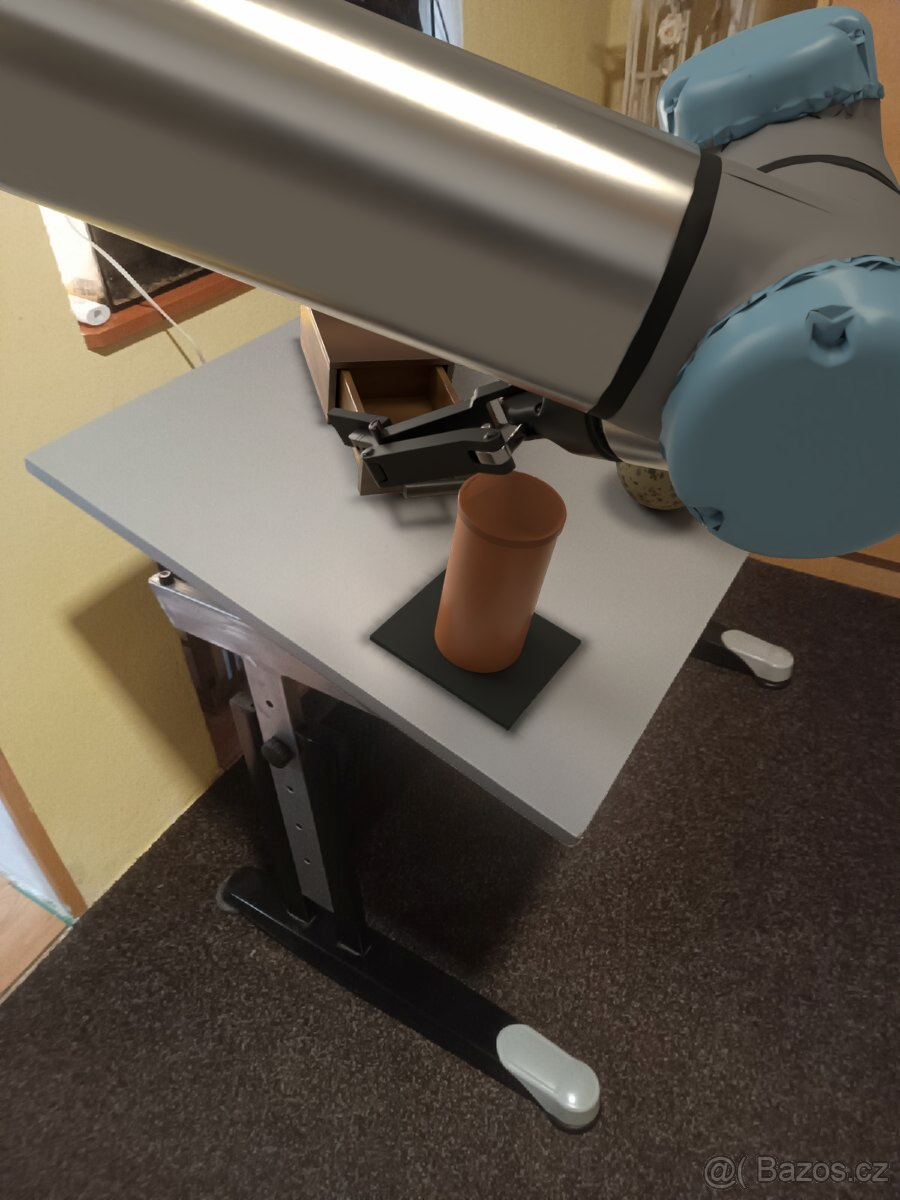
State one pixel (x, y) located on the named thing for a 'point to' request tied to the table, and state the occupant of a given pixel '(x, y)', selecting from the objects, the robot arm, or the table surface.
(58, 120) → the robot arm
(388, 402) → the drawer
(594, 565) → the table surface
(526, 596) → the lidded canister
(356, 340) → the cabinet
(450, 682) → the mat
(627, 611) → the table surface
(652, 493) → the decorative egg
